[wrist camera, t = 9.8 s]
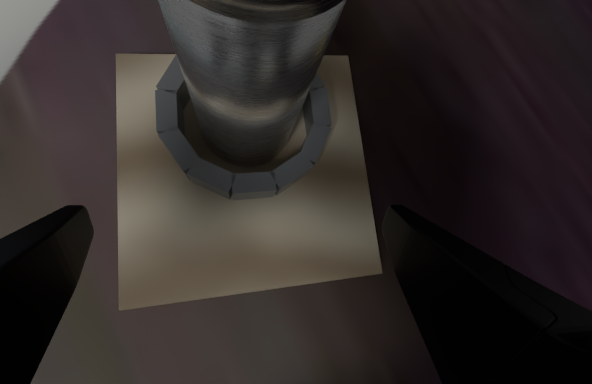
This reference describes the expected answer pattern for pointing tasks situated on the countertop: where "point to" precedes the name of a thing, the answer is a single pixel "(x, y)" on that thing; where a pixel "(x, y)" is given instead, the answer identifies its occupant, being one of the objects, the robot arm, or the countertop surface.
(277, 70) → the metal canister
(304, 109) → the collar
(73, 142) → the countertop surface
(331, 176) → the duct board
